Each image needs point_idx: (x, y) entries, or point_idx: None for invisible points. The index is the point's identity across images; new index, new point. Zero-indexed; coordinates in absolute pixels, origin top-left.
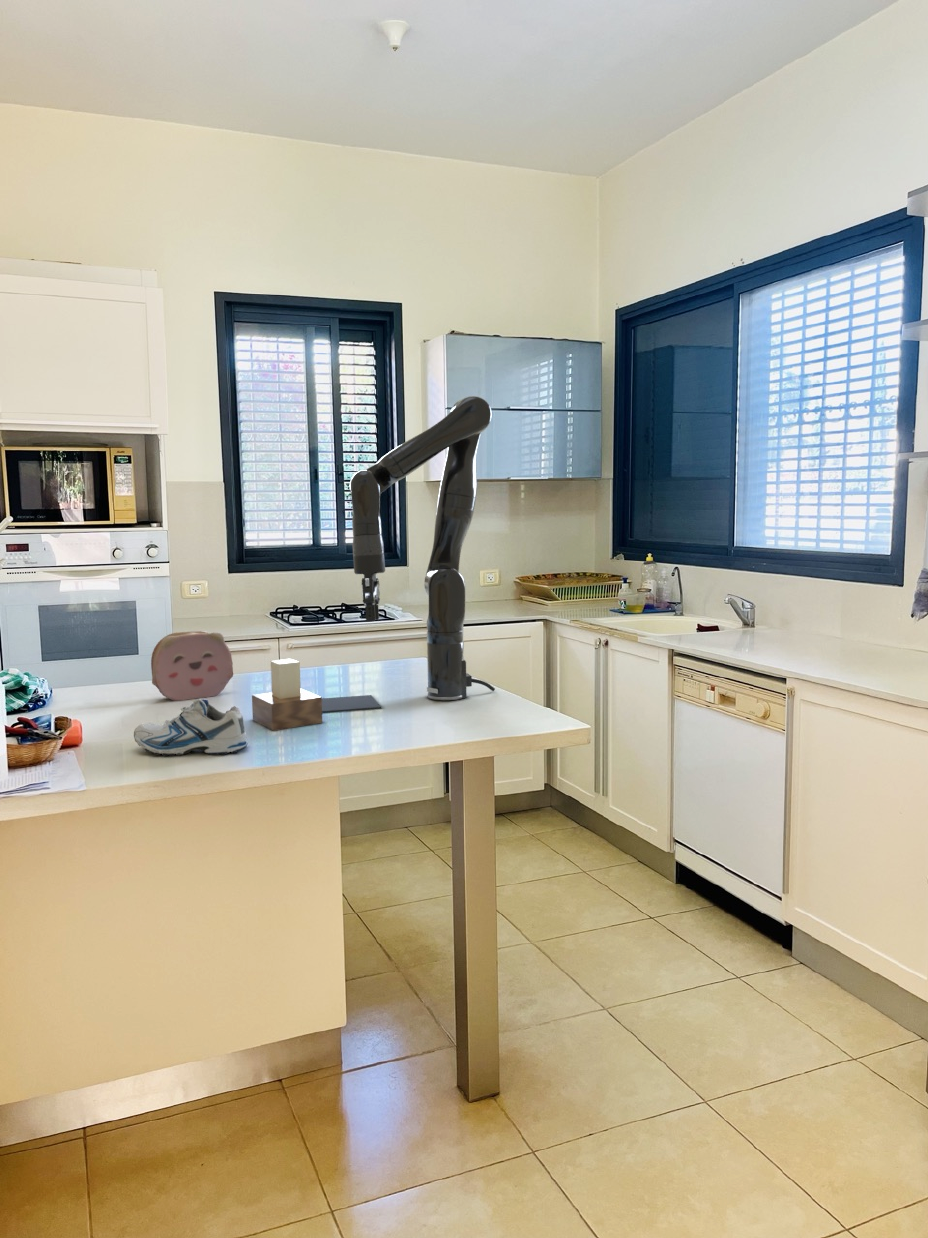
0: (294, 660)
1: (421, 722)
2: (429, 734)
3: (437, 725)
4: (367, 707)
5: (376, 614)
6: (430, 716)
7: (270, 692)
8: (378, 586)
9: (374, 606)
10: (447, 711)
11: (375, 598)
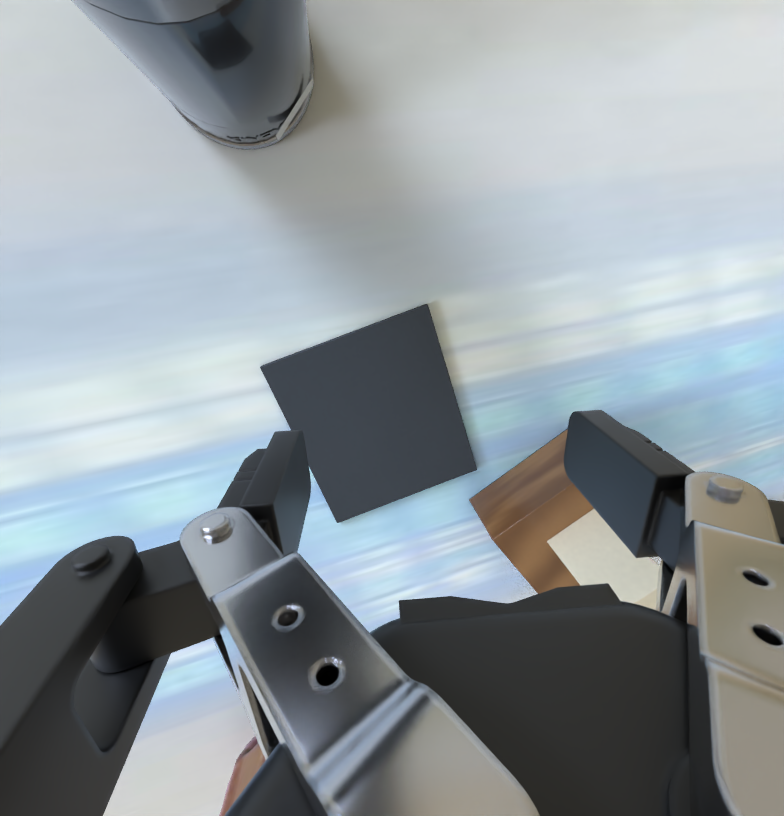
0: (645, 599)
1: (608, 146)
2: (742, 108)
3: (652, 84)
4: (435, 345)
5: (295, 463)
6: (538, 118)
7: (538, 587)
8: (470, 734)
9: (675, 469)
10: (474, 49)
11: (167, 601)
